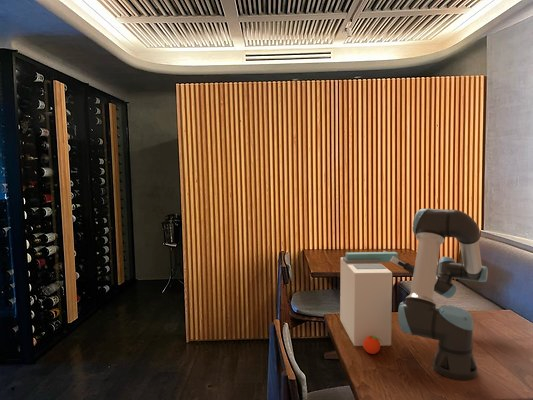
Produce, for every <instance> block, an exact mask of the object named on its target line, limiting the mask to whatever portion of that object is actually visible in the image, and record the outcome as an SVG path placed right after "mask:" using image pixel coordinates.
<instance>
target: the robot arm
mask: <svg viewBox="0 0 533 400" xmlns="http://www.w3.org/2000/svg"><path fill="white" fill-rule="evenodd" d="M412 222H413V223H412V232H413V234H414V235H415V238H416V240H417V242H418V244H417V249H416V255H415V262H414V265H413V264H411V263H409V262H406V261H404V260H402V259H401V258H399V257H398V258H396V257H394V256H393V257H392V259H391V260H390V261H391V262H390V263H393V264H395V266H398V267H400V268H402V269H404V270H405V271H406V272H408V273H409V274H410V275H412V281H411V287H410V291H409V292H410V293H409V295H407V296H406V297H405V300H404V301H402V302H400V303H399V305H398V311H397V319H398V326H399V329H400V330H401V331H402V332H403V333H405V334H407V335H408V334H409V335H411V336H418V337H421V338H427V339H430V340H435V341H438V344H437V345H438V347H437V349H436V352H435V355H434V357H433V360H432V367H433V370H434V371H435V372H436V373H438V374H439V375H442V376H444V377H446V378H449V379H454V380H458V381H459V380H460V381H469V380H473V379H474V377H475V378H476V377H477V376H476V375H478V366H477V364H476V360H475V357H474V353H473V344H474V343H473V340H474V327H475V326H474V317H473V315H472V314H471V313H470V312H469V311H467V310H465V309H464V308H461V307H458V306H456V305H450V304H449V305H448V304H447V305H446V304H443V305H440V306H439V308H436V306H437V303H436V302H435V301H434V300H433V299H434V292H435V293H437V294H438V295H439V296H441V297H444V298H446V299H450V298H452V297H453V296H454V295H456V293H457V286H456V285H455V284H454V283H452V281H453V279H455V280H457V279H459V280H463V281H464V280H465V281H473V282H476V283H478V282H479V283H486V282H487V281H488V275H489V273H488V272H489V270H488V267H487V266H486V265H485V266H484V265H482V264H483V263H482V257H481V249H480V242H479V240H480V239H481V230H480V228H479V225H478V223H476V221H475V219H473V218H472V216H470V215H469V214H467V213H466V212H464V211H461V210H458V209H445V208H443V209H442V208H441V209H440V208H439V209H438V208H430V207H429V208H428V207H427V208H420V209H418V210H417V211H416V213H415V215H414V218H413V220H412ZM446 238H454V239H456V241H457V242H458V243H459V249H460V252H461V253H460V254H461V259H462V262H456V260H455V259H454V258H452V257H449V256H442V257H439V255H440V251H441V250H440V249H441V244H443V243H446V241H445V240H446ZM382 252H388V251H386V250H385V249H383V251H382Z"/></svg>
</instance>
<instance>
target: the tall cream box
mask: <svg viewBox="0 0 533 400" xmlns="http://www.w3.org/2000/svg"><path fill="white" fill-rule="evenodd" d="M339 271H340V272H339V273H340V277H339V278H340V279H339V280H340V283H339V284H340V285H339V286H340V287H339V288H340V290H339V291H340V293H339V294H340V295H339V296H340V297H339V298H340V299H339V303H340V304H339V305H340V306H339V308H340V309H339V320H340V322H341V325H342V326H343V329H344V330H345V332H346V333H347V335H348V337H349V339H350V341H351V343H352V345H353V347H363V342H364V340H365V339H366V338H367V337H369V336H373V337H377V338H379V339H380V340H379V339H378V340H379V342H380V347H381V346H382V347H383V346H392V314H393V313H392V311H393V310H392V308H393V306H392V305H393V302H392V301H393V300H392V299H393V272H392V271H391V270H389V269H388V268H387V267H386V266H385V265H383V264H382V262H380V259H369V260H347V259H346V256H342V257H340V270H339Z"/></svg>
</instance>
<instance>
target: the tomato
mask: <svg viewBox="0 0 533 400" xmlns="http://www.w3.org/2000/svg"><path fill="white" fill-rule="evenodd" d="M378 339H379V338H377V337H373V336H369V337H367V338H366V339H365V340H364V342H363V346H362V347H363V349H364V351H365V352H366V353H368V354H371V355H375V354H377V353H379V352H380V349H381V346H380V342H379V340H380V339H379V340H378Z"/></svg>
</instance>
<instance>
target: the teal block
mask: <svg viewBox="0 0 533 400" xmlns="http://www.w3.org/2000/svg"><path fill="white" fill-rule="evenodd" d="M393 256H394V257H396V258H399V253H398V252H397V251H387V252H383V251H372V252H371V251H361V252H358V251H357V252H356V251H354V252H353V251H351V252H349V251H348V252H345V257H346V259H347V260H369V259H380V263H392V262H391V261H390V260H391V259H392V257H393Z"/></svg>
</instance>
